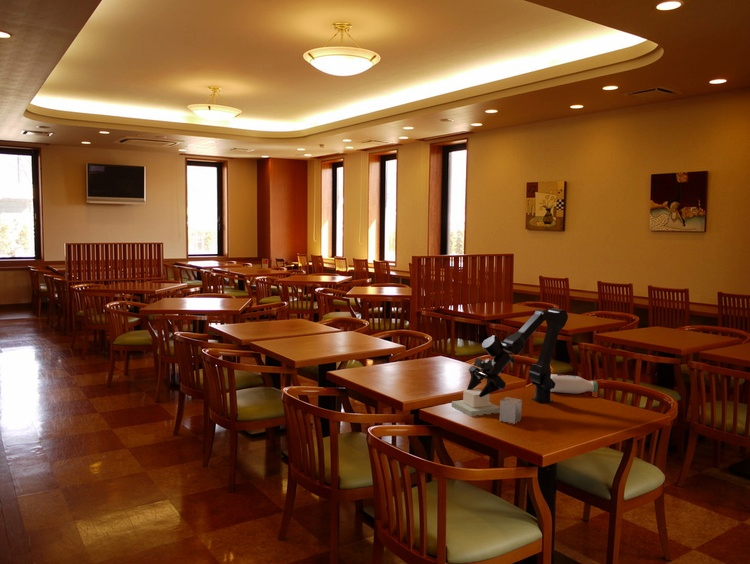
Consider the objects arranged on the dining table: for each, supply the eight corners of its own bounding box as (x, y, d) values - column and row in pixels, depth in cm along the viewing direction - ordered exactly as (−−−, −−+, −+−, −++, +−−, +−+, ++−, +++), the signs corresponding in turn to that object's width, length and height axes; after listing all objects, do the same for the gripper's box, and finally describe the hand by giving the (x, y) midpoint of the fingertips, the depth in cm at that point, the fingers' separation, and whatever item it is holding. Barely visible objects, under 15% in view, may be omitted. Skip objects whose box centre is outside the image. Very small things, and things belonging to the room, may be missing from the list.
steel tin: (505, 417, 233) (506, 396, 232) (520, 420, 229) (521, 399, 228) (499, 421, 228) (500, 400, 227) (514, 424, 224) (515, 403, 224)
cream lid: (478, 400, 246) (479, 388, 246) (489, 405, 240) (489, 393, 239) (463, 402, 243) (463, 390, 243) (473, 407, 237) (474, 395, 236)
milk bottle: (549, 395, 270) (595, 399, 267) (551, 384, 265) (599, 388, 262) (548, 381, 275) (593, 385, 273) (550, 370, 270) (597, 374, 267)
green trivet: (480, 402, 251) (480, 398, 251) (501, 412, 238) (501, 407, 238) (451, 406, 245) (451, 401, 245) (471, 416, 233) (471, 411, 232)
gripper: (473, 346, 250) (449, 375, 246) (500, 355, 233) (475, 386, 229) (488, 363, 254) (465, 392, 250) (516, 374, 237) (492, 405, 233)
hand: (473, 393), depth 241 cm, fingers open, 8 cm apart
